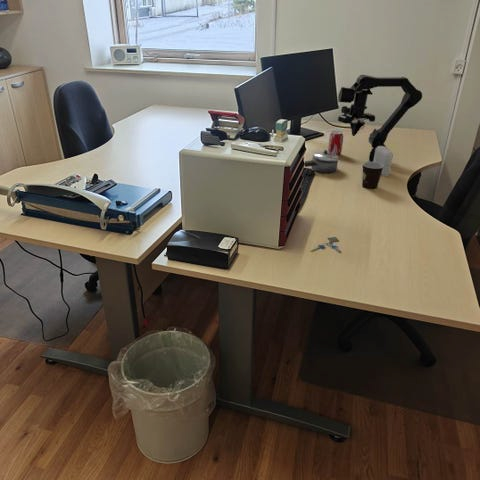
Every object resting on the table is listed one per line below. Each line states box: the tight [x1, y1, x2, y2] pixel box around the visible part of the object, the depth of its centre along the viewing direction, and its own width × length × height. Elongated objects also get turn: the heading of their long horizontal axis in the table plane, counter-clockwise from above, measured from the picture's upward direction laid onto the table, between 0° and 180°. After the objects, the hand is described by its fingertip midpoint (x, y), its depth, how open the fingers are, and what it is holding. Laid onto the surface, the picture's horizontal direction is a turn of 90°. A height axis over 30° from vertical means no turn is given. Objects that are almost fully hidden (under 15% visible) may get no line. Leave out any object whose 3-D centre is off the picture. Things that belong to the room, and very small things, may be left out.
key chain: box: [310, 236, 342, 253], centre depth 148 cm, size 14×8×1 cm, turn 141°
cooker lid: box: [312, 149, 340, 162], centre depth 210 cm, size 12×12×2 cm
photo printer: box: [373, 146, 394, 177], centre depth 207 cm, size 10×4×12 cm, turn 17°
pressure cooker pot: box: [304, 156, 339, 175], centre depth 211 cm, size 18×12×5 cm, turn 113°
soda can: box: [327, 130, 344, 157], centre depth 229 cm, size 7×7×12 cm
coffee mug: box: [361, 161, 383, 190], centre depth 193 cm, size 12×9×10 cm
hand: (353, 135), depth 217 cm, fingers closed
